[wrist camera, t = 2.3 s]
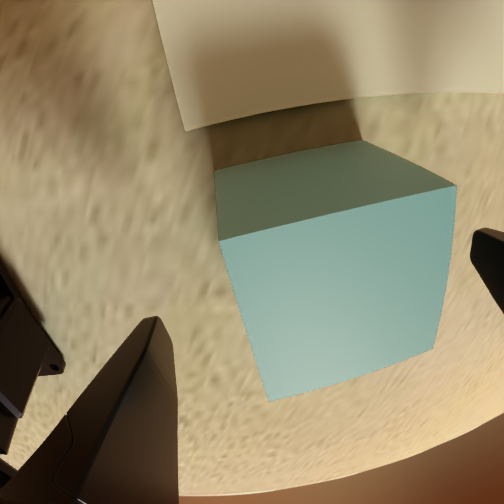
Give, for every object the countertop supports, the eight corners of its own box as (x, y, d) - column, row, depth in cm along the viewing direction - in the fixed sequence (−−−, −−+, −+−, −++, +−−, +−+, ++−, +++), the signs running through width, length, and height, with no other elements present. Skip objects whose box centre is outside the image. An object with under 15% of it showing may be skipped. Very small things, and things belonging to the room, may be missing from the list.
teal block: (247, 295, 12) (269, 401, 8) (214, 170, 10) (218, 241, 6) (369, 263, 12) (432, 348, 8) (361, 139, 10) (456, 185, 6)
